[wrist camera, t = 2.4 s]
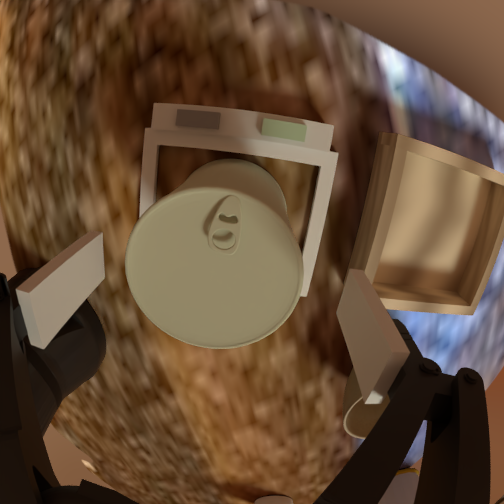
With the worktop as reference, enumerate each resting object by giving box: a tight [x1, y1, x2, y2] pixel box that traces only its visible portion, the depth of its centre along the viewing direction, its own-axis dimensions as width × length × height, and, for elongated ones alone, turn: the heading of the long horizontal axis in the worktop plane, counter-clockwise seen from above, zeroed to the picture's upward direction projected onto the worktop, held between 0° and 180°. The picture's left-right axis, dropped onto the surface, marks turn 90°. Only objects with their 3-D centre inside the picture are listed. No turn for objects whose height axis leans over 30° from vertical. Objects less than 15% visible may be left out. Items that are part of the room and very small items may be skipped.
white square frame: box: [139, 103, 338, 297], centre depth 24 cm, size 15×15×3 cm
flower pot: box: [343, 367, 390, 439], centre depth 29 cm, size 10×10×7 cm
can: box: [125, 159, 304, 349], centre depth 20 cm, size 9×9×12 cm
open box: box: [343, 132, 504, 315], centre depth 24 cm, size 14×14×4 cm
